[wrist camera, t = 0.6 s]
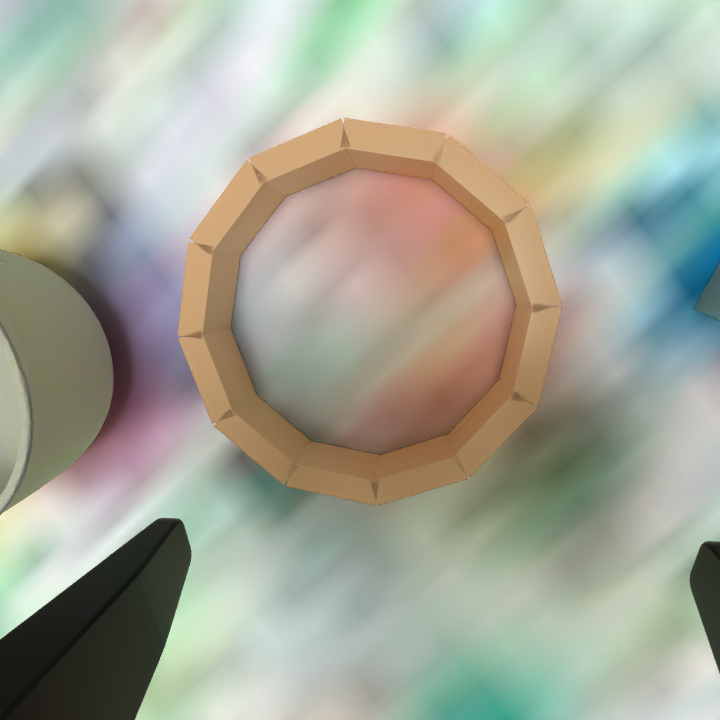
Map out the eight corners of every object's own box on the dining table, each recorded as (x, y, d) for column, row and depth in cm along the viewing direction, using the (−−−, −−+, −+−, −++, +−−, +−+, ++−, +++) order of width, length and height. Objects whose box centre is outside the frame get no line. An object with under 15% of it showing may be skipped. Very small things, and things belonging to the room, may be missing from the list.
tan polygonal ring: (578, 417, 21) (604, 438, 18) (279, 508, 24) (259, 540, 21) (474, 91, 20) (483, 57, 17) (165, 220, 22) (126, 210, 19)
